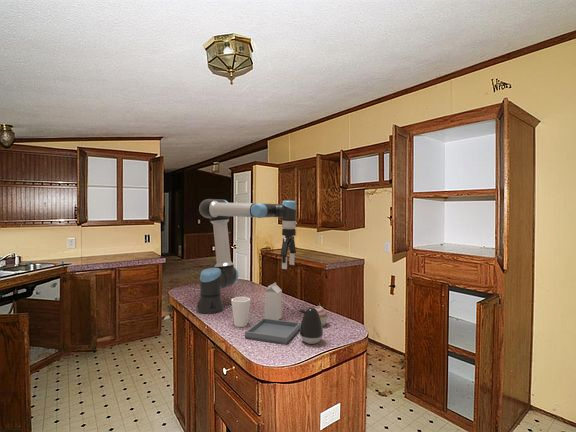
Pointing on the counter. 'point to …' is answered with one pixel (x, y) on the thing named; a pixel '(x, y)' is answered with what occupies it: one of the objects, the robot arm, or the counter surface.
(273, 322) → the tray
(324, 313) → the cupcake
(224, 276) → the robot arm
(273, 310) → the milk carton
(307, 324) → the pump dispenser
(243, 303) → the foam cup
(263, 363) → the counter surface
